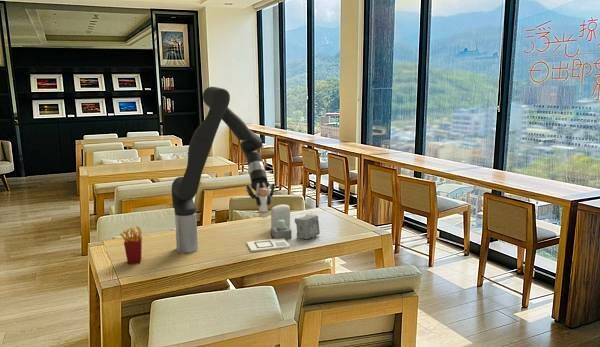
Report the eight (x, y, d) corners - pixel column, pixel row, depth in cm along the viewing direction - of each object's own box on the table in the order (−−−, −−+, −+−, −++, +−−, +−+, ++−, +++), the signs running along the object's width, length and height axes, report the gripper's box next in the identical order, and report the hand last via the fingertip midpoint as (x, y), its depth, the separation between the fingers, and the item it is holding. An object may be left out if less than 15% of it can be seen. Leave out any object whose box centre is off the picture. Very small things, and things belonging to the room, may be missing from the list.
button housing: (275, 240, 224) (275, 232, 223) (271, 234, 232) (271, 226, 231) (291, 238, 227) (291, 230, 226) (286, 232, 234) (286, 225, 233)
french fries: (142, 264, 196) (139, 230, 193) (121, 265, 195) (118, 231, 191) (144, 256, 205) (142, 223, 202) (124, 257, 203) (121, 224, 200)
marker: (260, 218, 211) (259, 190, 209) (258, 215, 215) (257, 188, 212) (268, 217, 213) (268, 189, 210) (266, 214, 216) (266, 187, 213)
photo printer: (287, 225, 246) (286, 202, 243) (291, 227, 242) (291, 204, 240) (269, 228, 240) (269, 205, 237) (274, 231, 237) (273, 207, 234)
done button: (278, 234, 227) (278, 222, 225) (276, 231, 230) (276, 220, 228) (285, 233, 228) (285, 221, 226) (283, 231, 231) (283, 219, 229)
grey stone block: (307, 232, 235) (307, 212, 233) (320, 236, 230) (320, 215, 227) (294, 237, 228) (294, 216, 226) (306, 241, 223) (306, 220, 220)
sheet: (251, 252, 209) (251, 250, 209) (246, 243, 220) (246, 241, 219) (290, 247, 215) (290, 245, 214) (283, 239, 225) (283, 237, 225)
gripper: (243, 169, 214) (249, 202, 205) (273, 167, 218) (281, 199, 210) (241, 178, 220) (247, 210, 212) (270, 176, 224) (278, 207, 216)
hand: (264, 204), depth 211 cm, fingers closed on marker, 3 cm apart
